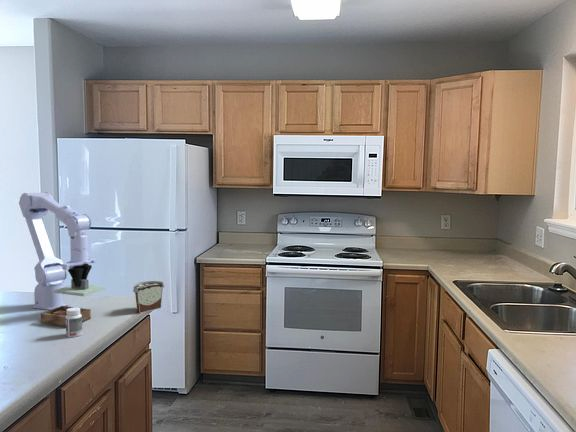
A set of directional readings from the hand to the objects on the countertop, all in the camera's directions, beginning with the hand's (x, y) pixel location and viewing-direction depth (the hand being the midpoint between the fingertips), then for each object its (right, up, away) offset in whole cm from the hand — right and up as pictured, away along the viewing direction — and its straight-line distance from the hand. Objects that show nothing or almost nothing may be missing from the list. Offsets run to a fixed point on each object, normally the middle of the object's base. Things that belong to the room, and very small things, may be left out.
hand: (79, 285), depth 173 cm
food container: (+21, -10, +9) cm, 25 cm away
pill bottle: (+7, -13, -20) cm, 25 cm away
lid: (0, -2, 0) cm, 2 cm away
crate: (-1, -11, -8) cm, 14 cm away
